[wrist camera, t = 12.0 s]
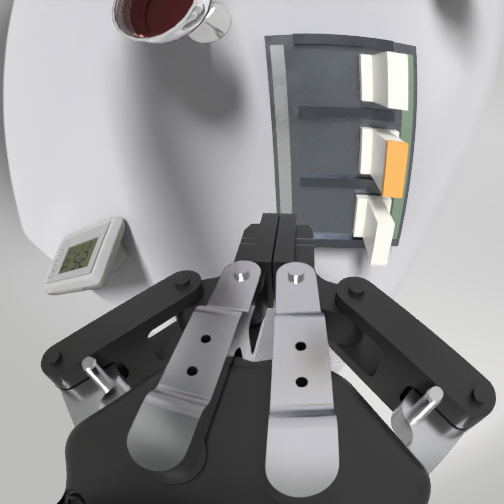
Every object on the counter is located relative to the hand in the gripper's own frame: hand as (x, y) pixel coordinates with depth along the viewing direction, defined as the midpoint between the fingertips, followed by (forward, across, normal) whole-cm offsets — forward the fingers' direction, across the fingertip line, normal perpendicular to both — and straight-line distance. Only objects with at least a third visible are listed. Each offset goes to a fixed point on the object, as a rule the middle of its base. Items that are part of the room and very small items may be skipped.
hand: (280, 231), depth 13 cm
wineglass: (+19, +8, -14) cm, 25 cm away
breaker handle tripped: (+15, -8, 0) cm, 18 cm away
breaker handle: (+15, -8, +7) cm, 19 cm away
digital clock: (+19, +30, +13) cm, 38 cm away
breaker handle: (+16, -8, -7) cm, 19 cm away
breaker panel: (+19, -5, 0) cm, 19 cm away
